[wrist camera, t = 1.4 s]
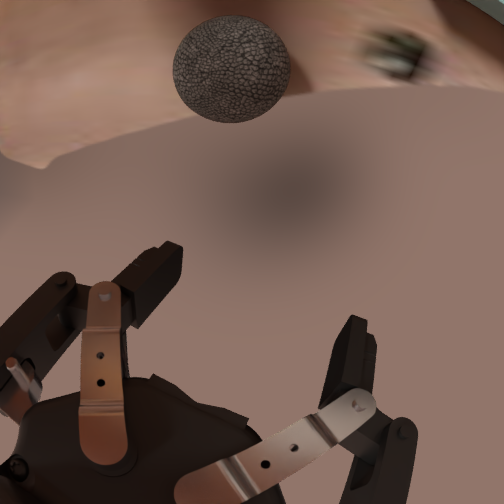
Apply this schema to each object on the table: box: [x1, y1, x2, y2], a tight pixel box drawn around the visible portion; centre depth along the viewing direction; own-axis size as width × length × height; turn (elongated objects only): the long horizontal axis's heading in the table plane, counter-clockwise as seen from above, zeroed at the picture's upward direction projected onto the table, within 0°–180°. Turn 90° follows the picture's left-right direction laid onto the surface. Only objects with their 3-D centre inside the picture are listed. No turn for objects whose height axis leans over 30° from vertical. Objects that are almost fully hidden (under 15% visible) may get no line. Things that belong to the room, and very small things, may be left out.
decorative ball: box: [173, 15, 290, 123], centre depth 23 cm, size 10×10×10 cm
